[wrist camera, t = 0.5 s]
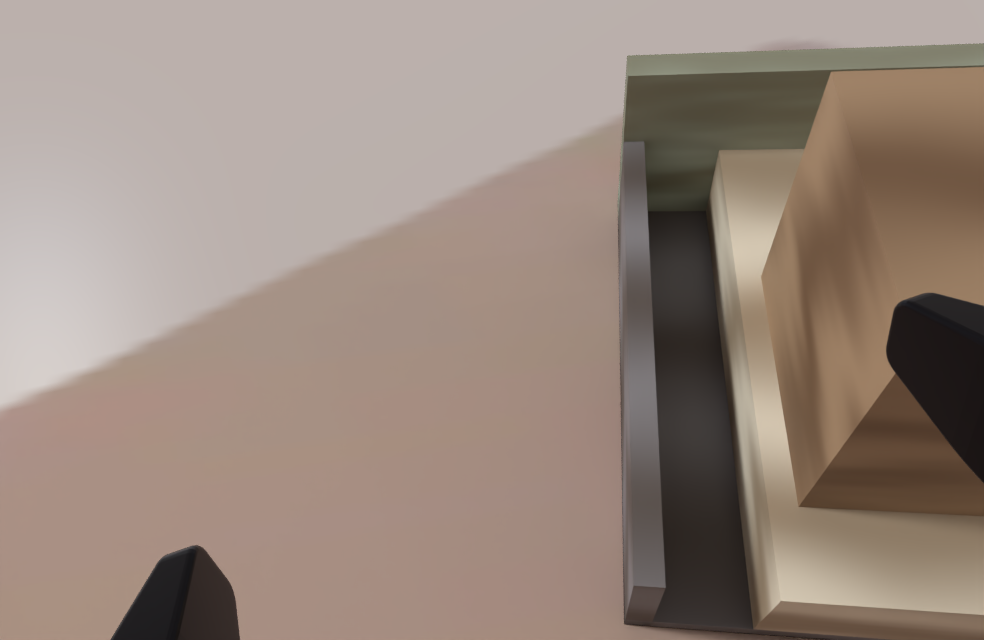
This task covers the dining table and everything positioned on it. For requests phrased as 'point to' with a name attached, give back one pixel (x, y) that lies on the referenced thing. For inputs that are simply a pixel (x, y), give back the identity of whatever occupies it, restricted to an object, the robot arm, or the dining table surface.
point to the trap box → (748, 374)
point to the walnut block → (875, 284)
